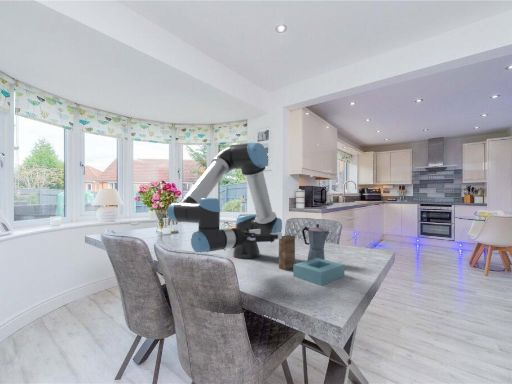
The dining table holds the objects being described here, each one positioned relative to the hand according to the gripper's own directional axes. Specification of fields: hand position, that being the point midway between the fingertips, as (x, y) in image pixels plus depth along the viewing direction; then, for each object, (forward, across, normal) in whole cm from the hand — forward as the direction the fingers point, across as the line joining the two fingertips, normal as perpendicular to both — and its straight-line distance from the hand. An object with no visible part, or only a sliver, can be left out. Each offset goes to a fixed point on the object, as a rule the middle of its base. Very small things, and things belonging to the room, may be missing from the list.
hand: (270, 233), depth 108 cm
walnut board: (+12, 0, -17) cm, 21 cm away
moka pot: (+29, +4, -17) cm, 34 cm away
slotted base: (+13, +17, -17) cm, 27 cm away
